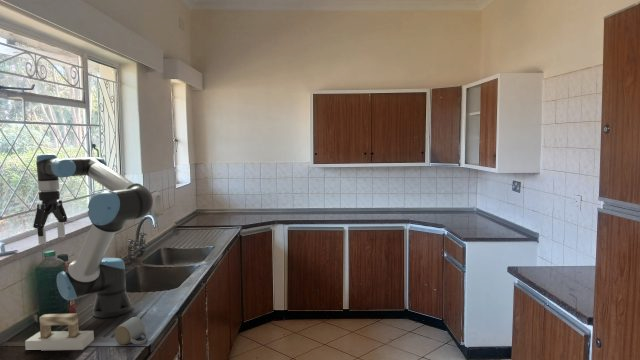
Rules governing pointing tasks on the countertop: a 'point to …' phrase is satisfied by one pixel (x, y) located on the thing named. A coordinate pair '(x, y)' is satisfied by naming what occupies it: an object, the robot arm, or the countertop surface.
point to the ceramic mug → (130, 331)
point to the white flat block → (60, 341)
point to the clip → (59, 319)
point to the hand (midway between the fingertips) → (52, 240)
